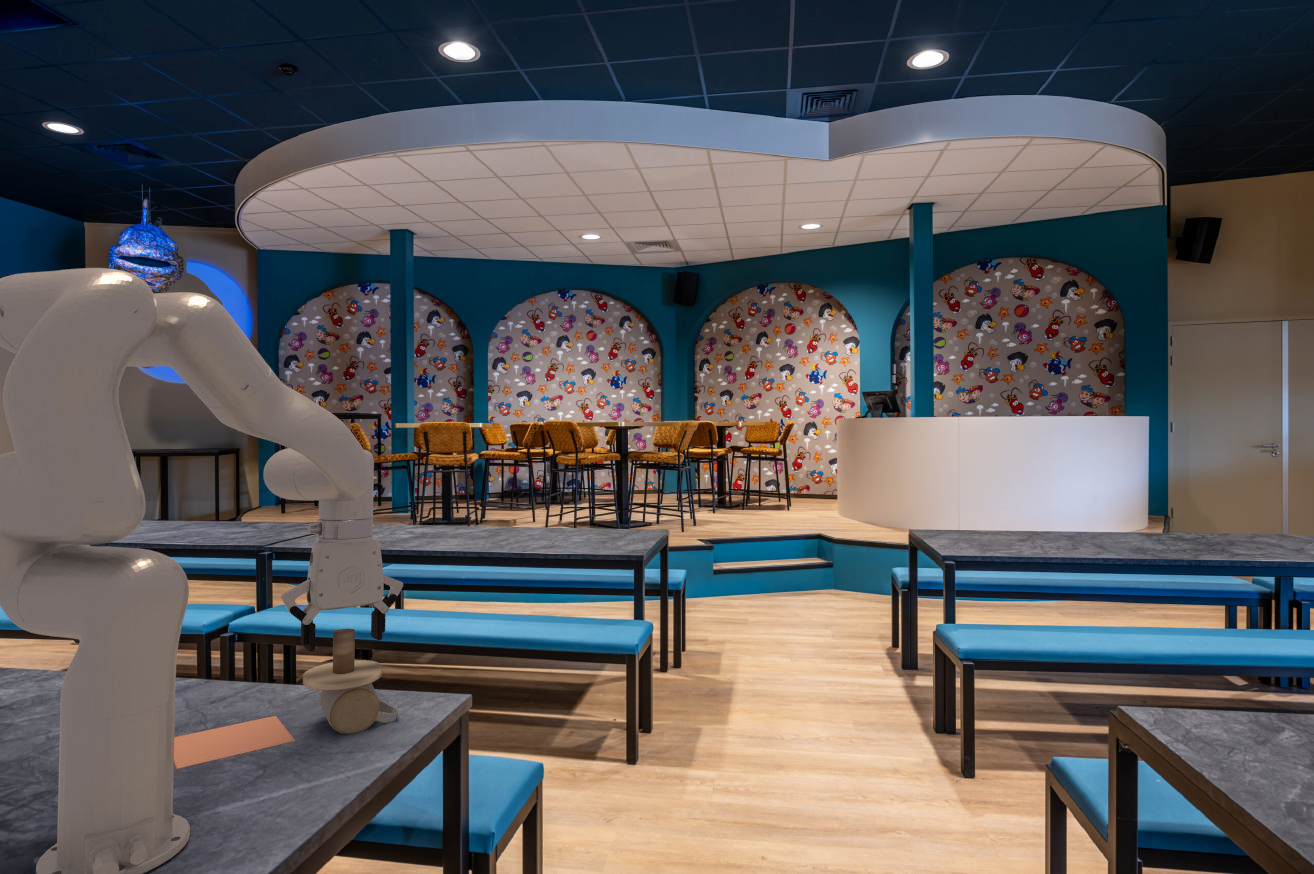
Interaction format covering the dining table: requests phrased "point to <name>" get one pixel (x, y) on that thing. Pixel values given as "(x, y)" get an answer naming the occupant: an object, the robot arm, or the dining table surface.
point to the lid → (343, 666)
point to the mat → (229, 741)
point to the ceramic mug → (355, 709)
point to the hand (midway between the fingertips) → (344, 643)
